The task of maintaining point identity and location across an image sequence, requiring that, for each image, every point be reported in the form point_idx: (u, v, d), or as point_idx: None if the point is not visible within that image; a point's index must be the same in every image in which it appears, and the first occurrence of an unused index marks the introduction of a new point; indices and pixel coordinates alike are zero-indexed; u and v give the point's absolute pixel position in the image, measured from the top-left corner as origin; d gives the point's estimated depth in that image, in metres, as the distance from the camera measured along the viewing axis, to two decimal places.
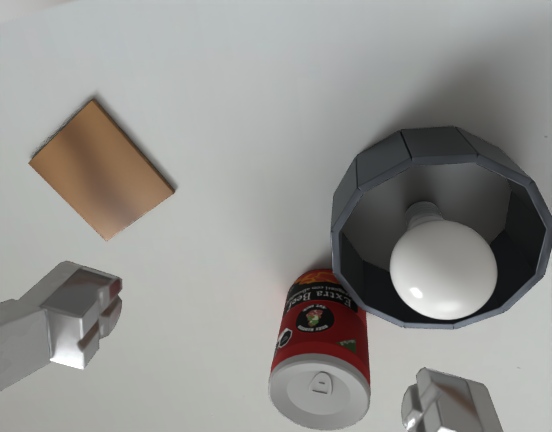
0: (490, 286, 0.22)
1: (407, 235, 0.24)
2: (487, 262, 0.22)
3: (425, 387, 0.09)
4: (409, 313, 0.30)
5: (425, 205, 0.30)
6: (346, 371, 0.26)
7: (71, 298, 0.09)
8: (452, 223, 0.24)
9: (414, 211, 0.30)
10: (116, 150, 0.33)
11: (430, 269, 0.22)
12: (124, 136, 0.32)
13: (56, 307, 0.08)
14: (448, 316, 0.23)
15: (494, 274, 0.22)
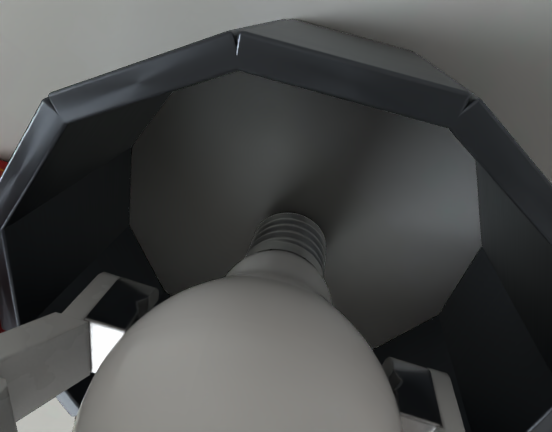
0: None
1: (244, 303, 0.07)
2: None
3: (388, 376, 0.09)
4: None
5: (314, 234, 0.13)
6: None
7: (113, 311, 0.09)
8: (377, 367, 0.07)
9: (288, 229, 0.12)
10: None
11: None
12: None
13: (99, 320, 0.08)
14: None
15: None
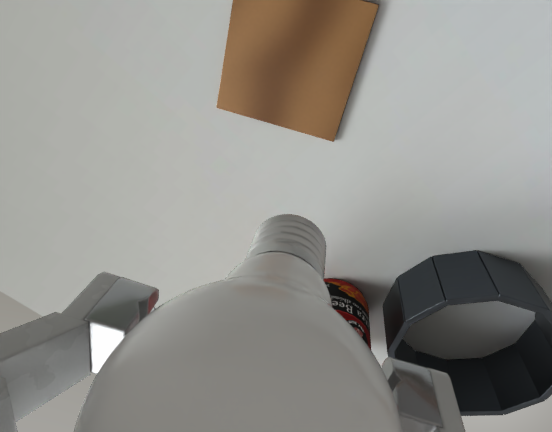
0: None
1: (245, 306, 0.07)
2: None
3: (388, 376, 0.09)
4: None
5: (314, 236, 0.13)
6: None
7: (113, 311, 0.09)
8: (377, 369, 0.07)
9: (288, 230, 0.12)
10: (338, 62, 0.28)
11: None
12: None
13: (99, 320, 0.08)
14: None
15: None
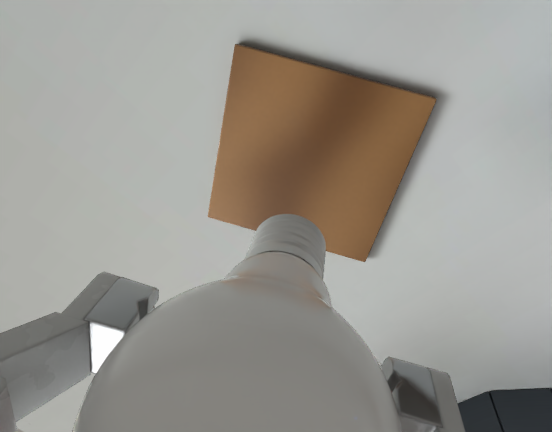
0: None
1: (243, 305, 0.07)
2: None
3: (388, 376, 0.09)
4: None
5: (313, 235, 0.13)
6: None
7: (113, 311, 0.09)
8: (376, 369, 0.07)
9: (288, 230, 0.12)
10: (374, 169, 0.20)
11: None
12: (405, 168, 0.20)
13: (99, 320, 0.08)
14: None
15: None
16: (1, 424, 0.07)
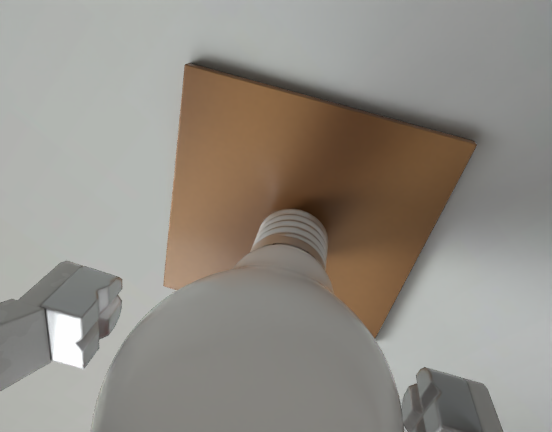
0: None
1: (254, 290, 0.07)
2: None
3: (425, 387, 0.09)
4: None
5: (316, 229, 0.13)
6: None
7: (71, 298, 0.09)
8: (377, 350, 0.08)
9: (292, 224, 0.13)
10: (385, 235, 0.14)
11: None
12: (428, 235, 0.14)
13: (56, 307, 0.08)
14: None
15: None
16: None
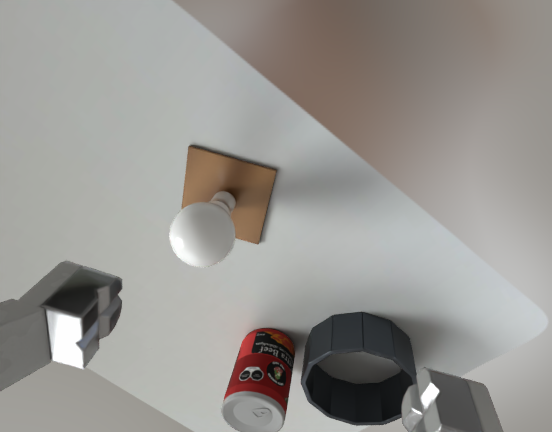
0: (215, 260, 0.36)
1: (202, 204, 0.36)
2: (224, 248, 0.35)
3: (425, 387, 0.09)
4: (315, 395, 0.51)
5: (230, 197, 0.42)
6: (282, 417, 0.45)
7: (71, 298, 0.09)
8: (228, 217, 0.36)
9: (221, 195, 0.42)
10: (255, 200, 0.43)
11: (194, 229, 0.34)
12: None
13: (56, 307, 0.08)
14: (183, 258, 0.35)
15: (222, 256, 0.36)
16: None
